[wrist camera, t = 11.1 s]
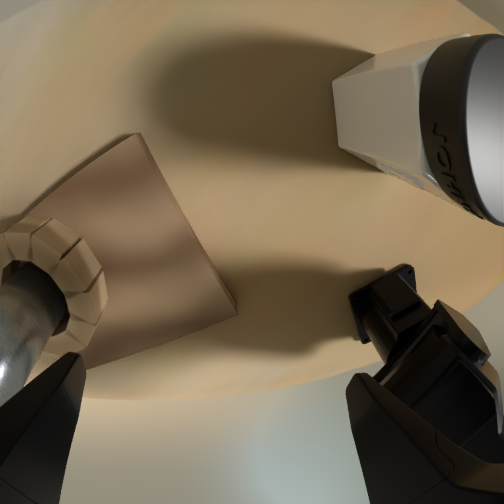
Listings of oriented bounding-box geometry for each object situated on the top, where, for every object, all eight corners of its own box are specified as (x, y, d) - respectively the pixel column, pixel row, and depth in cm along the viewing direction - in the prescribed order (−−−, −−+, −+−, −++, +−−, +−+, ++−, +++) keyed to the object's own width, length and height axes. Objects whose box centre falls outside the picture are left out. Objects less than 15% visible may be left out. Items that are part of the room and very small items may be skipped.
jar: (307, 135, 18) (420, 164, 7) (350, 36, 15) (474, -14, 4) (405, 188, 20) (523, 257, 9) (441, 102, 17) (566, 121, 6)
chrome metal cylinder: (86, 284, 19) (10, 425, 8) (60, 316, 20) (-3, 438, 9) (41, 239, 18) (-66, 354, 6) (19, 277, 19) (-64, 384, 7)
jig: (236, 305, 23) (240, 341, 19) (83, 363, 25) (71, 393, 21) (140, 132, 17) (118, 136, 13) (-6, 247, 18) (-32, 269, 15)
